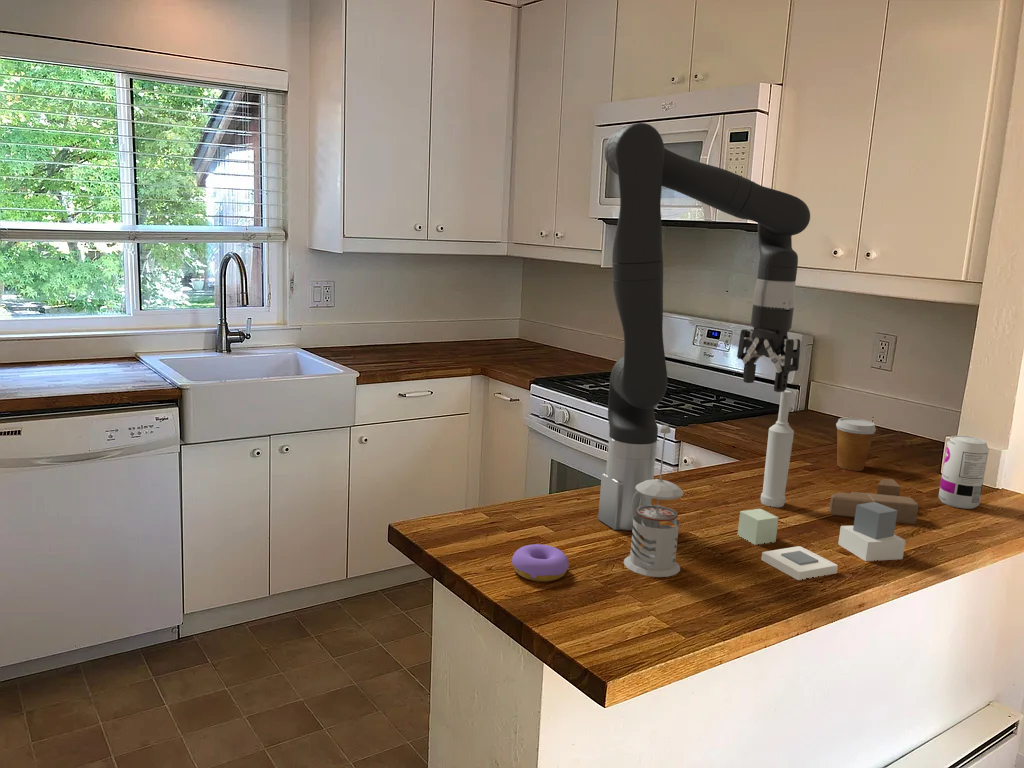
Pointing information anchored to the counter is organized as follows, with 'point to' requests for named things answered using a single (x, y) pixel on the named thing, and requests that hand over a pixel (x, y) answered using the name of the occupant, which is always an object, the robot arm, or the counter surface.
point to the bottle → (778, 456)
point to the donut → (540, 562)
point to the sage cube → (757, 526)
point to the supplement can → (963, 472)
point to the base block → (871, 545)
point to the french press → (655, 528)
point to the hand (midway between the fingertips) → (763, 387)
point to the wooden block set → (885, 495)
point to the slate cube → (875, 520)
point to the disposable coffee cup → (853, 442)
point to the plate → (799, 562)
